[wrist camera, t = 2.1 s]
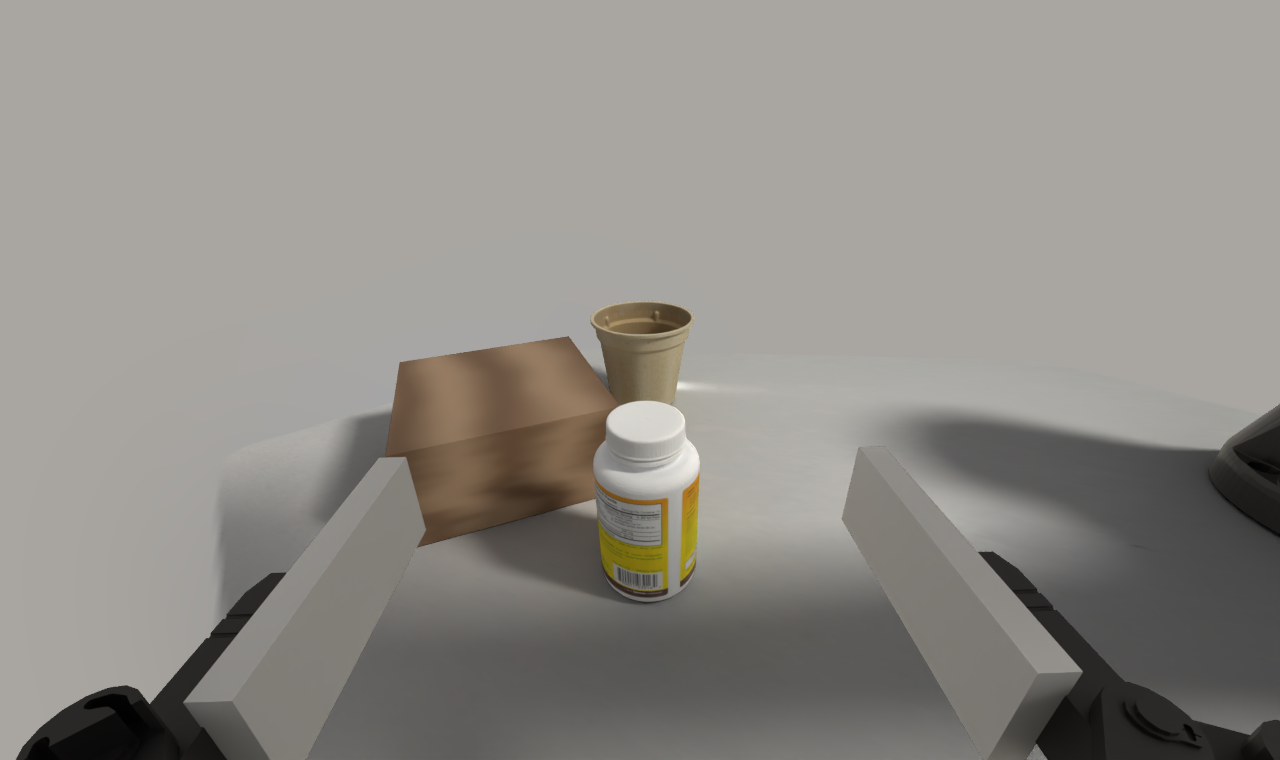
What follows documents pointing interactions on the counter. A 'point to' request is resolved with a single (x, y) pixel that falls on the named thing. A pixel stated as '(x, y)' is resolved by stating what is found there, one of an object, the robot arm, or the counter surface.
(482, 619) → the counter surface
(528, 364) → the block
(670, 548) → the supplement bottle
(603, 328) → the flower pot
